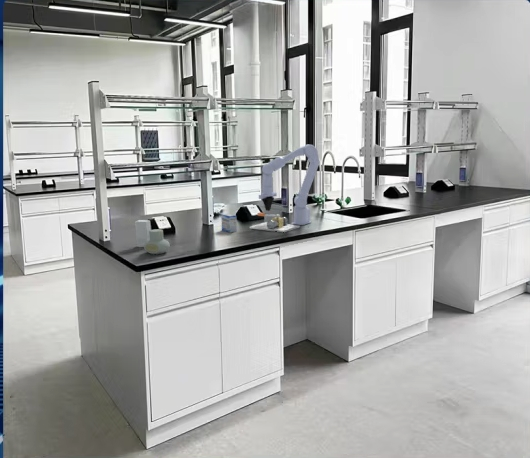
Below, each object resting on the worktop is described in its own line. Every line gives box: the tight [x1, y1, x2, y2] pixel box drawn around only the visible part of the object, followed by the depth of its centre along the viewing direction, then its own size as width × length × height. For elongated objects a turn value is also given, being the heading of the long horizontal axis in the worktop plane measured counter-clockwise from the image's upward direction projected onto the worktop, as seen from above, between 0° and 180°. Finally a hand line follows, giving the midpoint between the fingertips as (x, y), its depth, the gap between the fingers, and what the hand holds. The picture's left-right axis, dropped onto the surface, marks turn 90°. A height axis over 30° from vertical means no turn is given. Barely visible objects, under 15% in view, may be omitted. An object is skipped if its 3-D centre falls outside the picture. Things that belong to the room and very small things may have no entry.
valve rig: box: [249, 216, 301, 233], centre depth 260 cm, size 16×22×6 cm
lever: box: [256, 212, 281, 218], centre depth 262 cm, size 14×3×1 cm, turn 54°
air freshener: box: [143, 228, 171, 255], centre depth 210 cm, size 11×8×10 cm
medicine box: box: [220, 213, 238, 233], centre depth 254 cm, size 8×4×9 cm, turn 40°
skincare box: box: [134, 219, 152, 248], centre depth 222 cm, size 6×4×12 cm
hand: (268, 210), depth 269 cm, fingers closed
